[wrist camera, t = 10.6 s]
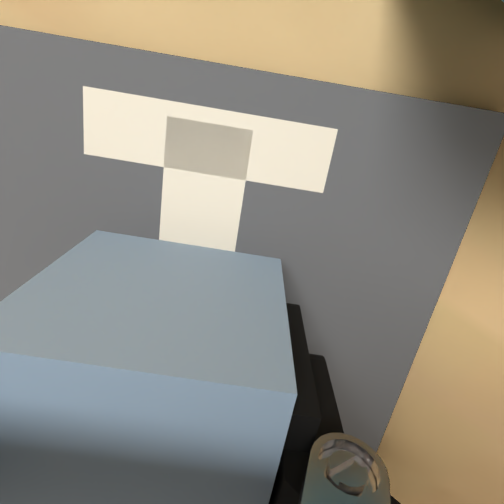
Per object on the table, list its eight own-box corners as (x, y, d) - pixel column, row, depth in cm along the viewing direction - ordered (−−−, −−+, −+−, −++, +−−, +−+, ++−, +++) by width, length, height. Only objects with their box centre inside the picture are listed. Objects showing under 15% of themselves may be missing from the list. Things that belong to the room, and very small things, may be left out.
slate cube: (280, 258, 10) (297, 394, 5) (252, 399, 12) (245, 591, 7) (96, 229, 10) (-57, 343, 5) (97, 377, 12) (-14, 559, 7)
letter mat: (498, 114, 10) (512, 114, 10) (364, 459, 15) (368, 473, 15) (-75, 14, 10) (-97, 8, 9) (-14, 407, 15) (-25, 419, 14)
